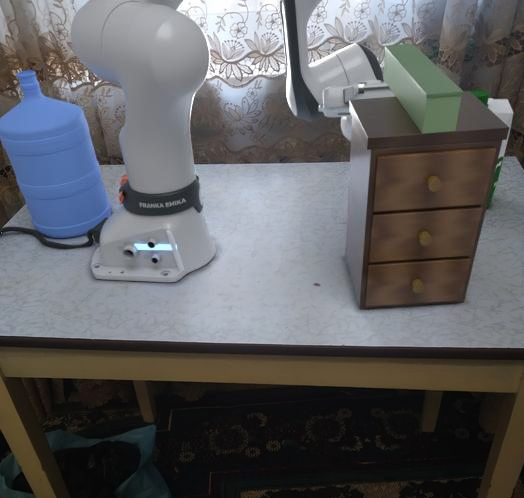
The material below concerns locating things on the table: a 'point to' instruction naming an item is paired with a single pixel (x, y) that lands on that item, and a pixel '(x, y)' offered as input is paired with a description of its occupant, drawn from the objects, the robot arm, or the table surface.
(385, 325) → the table surface
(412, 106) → the storage box
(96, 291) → the table surface
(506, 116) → the milk carton
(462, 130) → the drawer unit
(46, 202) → the water jug
